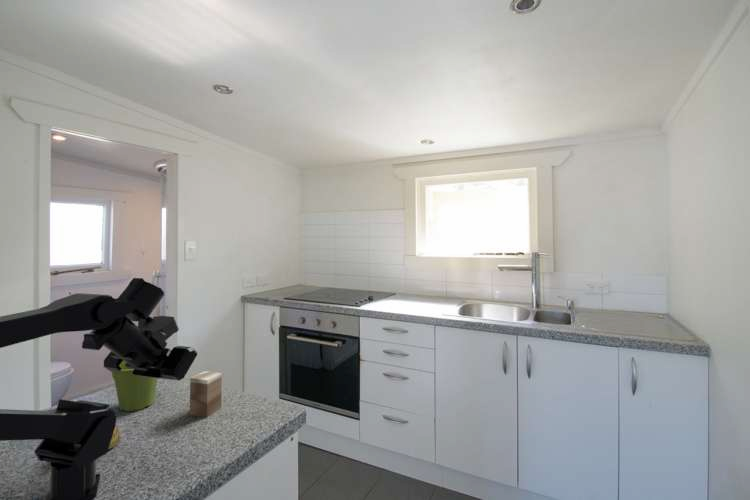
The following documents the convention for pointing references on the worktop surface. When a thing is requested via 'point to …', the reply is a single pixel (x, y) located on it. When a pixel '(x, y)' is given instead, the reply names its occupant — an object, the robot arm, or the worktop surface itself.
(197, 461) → the worktop surface
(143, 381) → the plant pot
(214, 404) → the walnut block
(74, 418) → the robot arm
